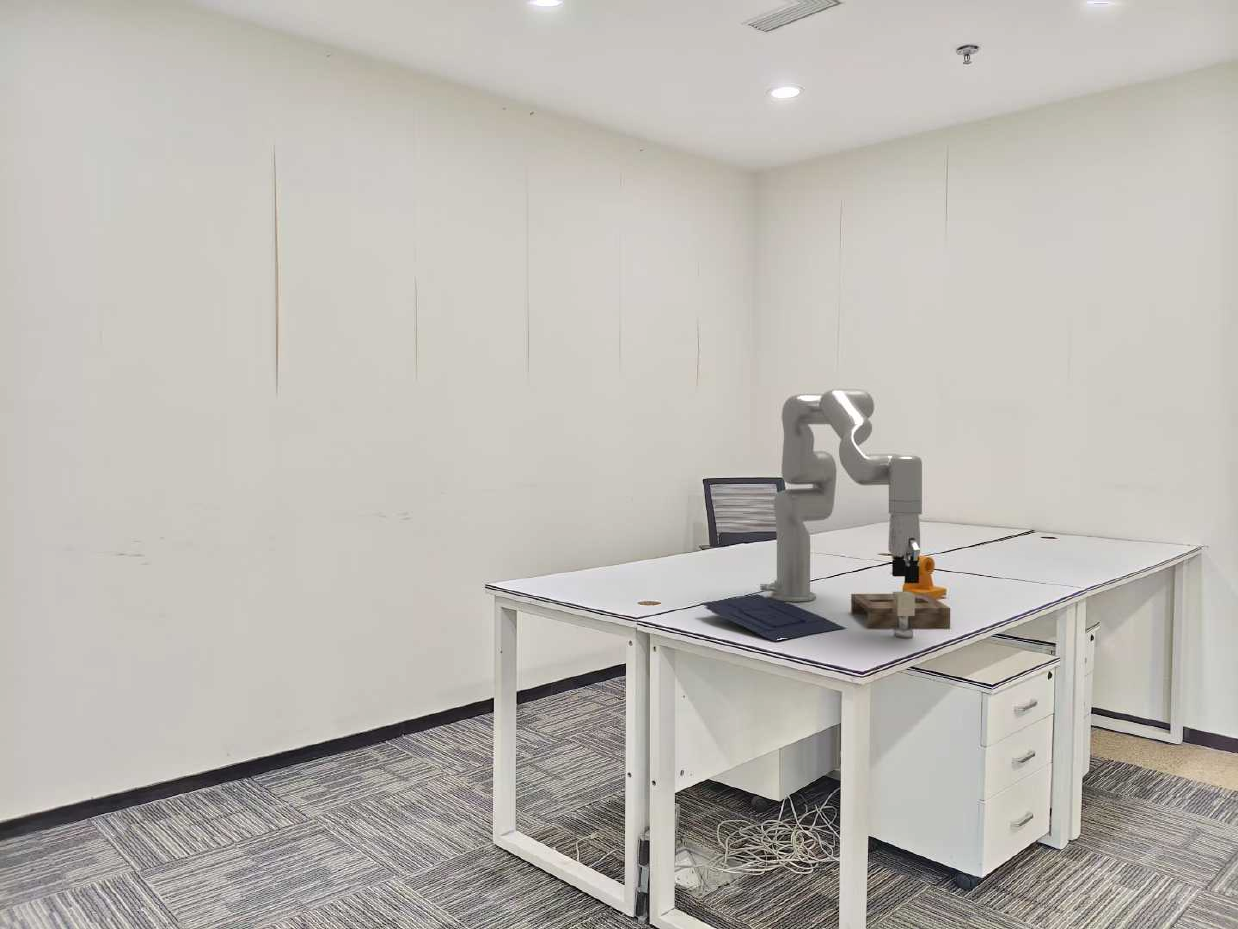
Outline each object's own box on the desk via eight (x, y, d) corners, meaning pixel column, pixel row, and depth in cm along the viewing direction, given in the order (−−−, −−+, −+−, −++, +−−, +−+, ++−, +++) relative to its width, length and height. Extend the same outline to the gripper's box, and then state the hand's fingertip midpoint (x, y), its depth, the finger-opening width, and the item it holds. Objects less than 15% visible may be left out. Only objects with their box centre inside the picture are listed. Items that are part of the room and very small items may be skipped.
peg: (896, 638, 211) (897, 595, 211) (891, 634, 216) (891, 591, 215) (915, 638, 211) (916, 595, 211) (909, 634, 216) (910, 591, 215)
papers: (762, 603, 246) (763, 590, 246) (845, 638, 222) (846, 624, 221) (693, 614, 233) (694, 600, 232) (773, 653, 208) (775, 638, 208)
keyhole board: (869, 628, 221) (869, 608, 221) (851, 612, 239) (851, 593, 239) (950, 628, 221) (950, 608, 221) (925, 612, 239) (926, 593, 239)
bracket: (922, 602, 252) (923, 560, 252) (902, 597, 258) (902, 556, 258) (947, 598, 258) (948, 556, 257) (927, 593, 264) (927, 553, 263)
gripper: (879, 505, 220) (879, 574, 221) (900, 511, 203) (900, 586, 204) (909, 504, 220) (909, 573, 221) (933, 510, 203) (933, 585, 203)
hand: (905, 579), depth 212 cm, fingers open, 9 cm apart
